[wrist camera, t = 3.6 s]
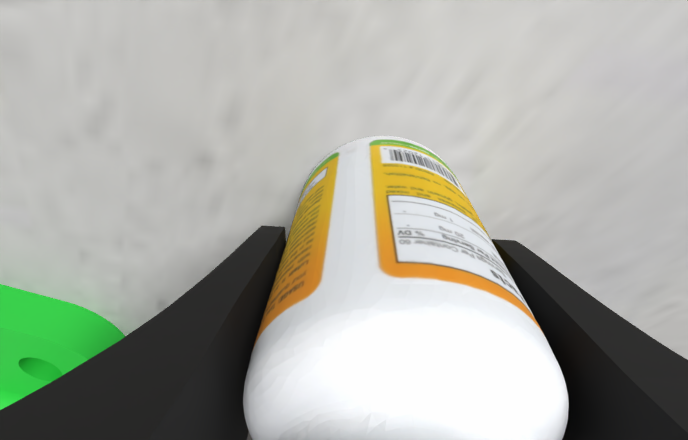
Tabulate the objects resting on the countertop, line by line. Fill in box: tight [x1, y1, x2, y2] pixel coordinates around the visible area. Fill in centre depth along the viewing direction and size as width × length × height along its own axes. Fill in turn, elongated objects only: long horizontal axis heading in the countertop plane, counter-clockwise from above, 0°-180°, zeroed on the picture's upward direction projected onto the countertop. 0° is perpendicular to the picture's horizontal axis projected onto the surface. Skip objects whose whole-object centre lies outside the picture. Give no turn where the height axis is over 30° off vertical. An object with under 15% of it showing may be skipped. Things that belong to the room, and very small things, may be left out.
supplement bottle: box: [243, 136, 569, 440], centre depth 7 cm, size 5×5×10 cm
